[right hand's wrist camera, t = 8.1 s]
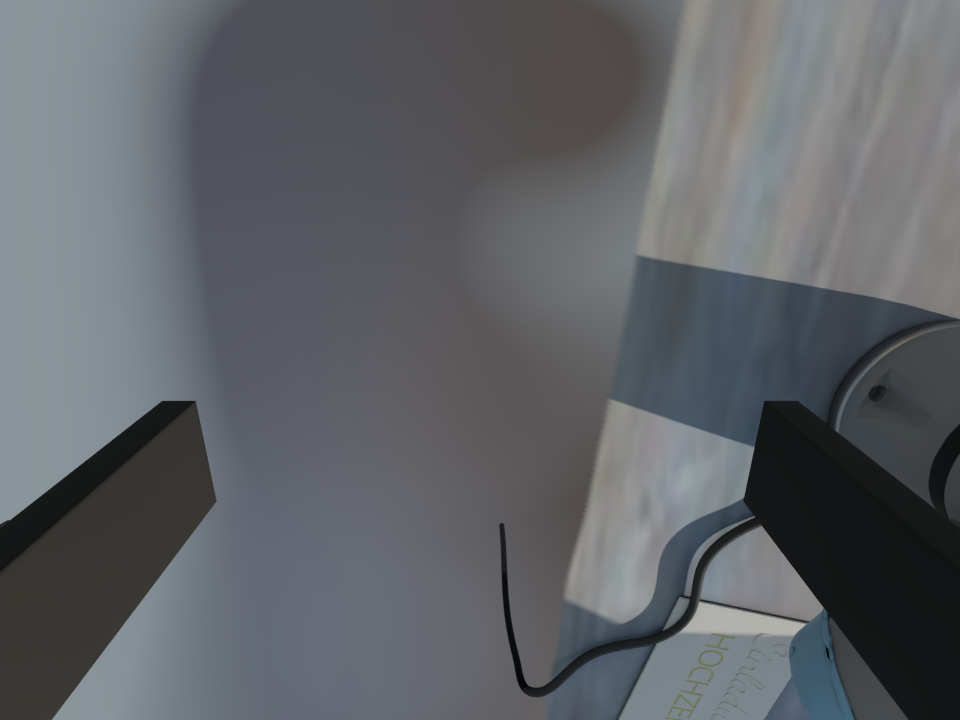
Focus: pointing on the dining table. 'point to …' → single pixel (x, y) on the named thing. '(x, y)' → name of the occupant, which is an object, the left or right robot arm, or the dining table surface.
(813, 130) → the dining table surface
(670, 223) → the dining table surface
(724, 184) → the dining table surface
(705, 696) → the invitation card
